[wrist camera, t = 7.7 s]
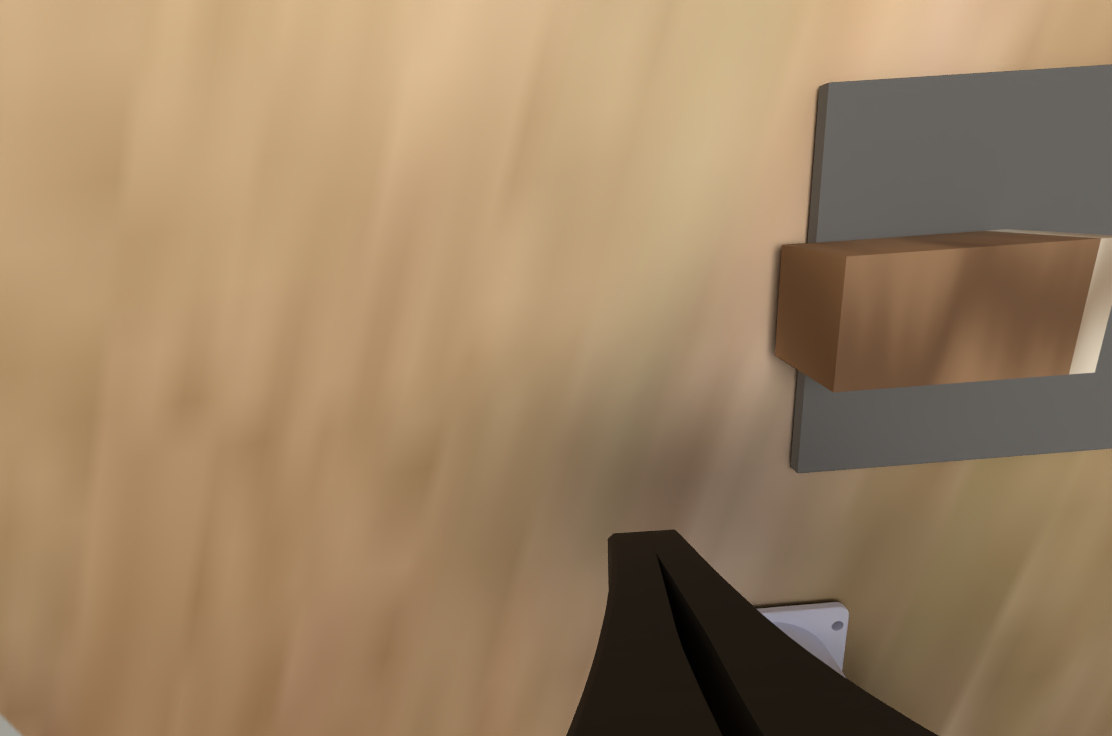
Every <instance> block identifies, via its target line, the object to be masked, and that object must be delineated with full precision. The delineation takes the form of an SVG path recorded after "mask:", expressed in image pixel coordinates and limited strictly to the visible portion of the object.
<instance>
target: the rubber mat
mask: <svg viewBox="0 0 1112 736" xmlns="http://www.w3.org/2000/svg"><path fill="white" fill-rule="evenodd" d="M1002 229H1013V230H1030V231H1047V232H1063V233H1080V234H1096V235H1112V65H1098V66H1082V67H1066V68H1051V69H1035V70H1019V71H1004V72H988V73H972V74H957V75H941V76H925V77H910V78H894V79H878V80H863V81H847V82H831V83H827V84H824V85H822V86H819V98H818V111H817V124H816V138H815V151H814V164H813V177H812V190H811V203H810V217H809V230H808V243H817V242H832V241H846V240H860V239H874V238H889V237H903V236H917V235H931V234H945V233H960V232H974V231H988V230H1002ZM1110 448H1112V306H1111V310H1110V314H1109V318H1108V322H1107V326H1106V330H1105V334H1104V338H1103V342H1102V346H1101V350H1100V354H1099V358H1098V362H1097V366H1096V370H1095V373H1082V374H1068V375H1055V376H1042V377H1029V378H1016V379H1003V380H990V381H977V382H964V383H951V384H938V385H924V386H911V387H898V388H885V389H872V390H859V391H846V392H832V391H830V390H829V389H827V388H825V387H824V386H822V385H821V384H819V383H818V382H816V381H814V380H813V379H811V378H810V377H808V376H807V375H805V374H803V373H802V372H800V371H799V370H798V375H797V388H796V401H795V414H794V427H793V440H792V454H791V467H792V468H793V469H794V470H795V471H796V472H797V473H808V472H821V471H834V470H846V469H859V468H871V467H884V466H896V465H909V464H922V463H934V462H947V461H959V460H972V459H985V458H997V457H1010V456H1022V455H1035V454H1048V453H1060V452H1073V451H1085V450H1098V449H1110Z"/></svg>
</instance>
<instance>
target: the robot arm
mask: <svg viewBox="0 0 1112 736" xmlns="http://www.w3.org/2000/svg"><path fill="white" fill-rule="evenodd" d="M608 575H609V592H608V599H607V606H606V611H605V616H604V620H603V625H602V629H601V633H600V638H599V642H598V646H597V650H596V653H595V657H594V660H593V664H592V667H591V670H590V673H589V676H588V679H587V682H586V685H585V688H584V691H583V694H582V697H581V699H580V702H579V705H578V707H577V710H576V713H575V715H574V718H573V720H572V723H571V726H570V728H569V730H568V733H567V735H566V736H938V735H936V734H935V733H933V732H931V731H929V730H928V729H926V728H924V727H922V726H921V725H919V724H917V723H916V722H914V721H912V720H911V719H909V718H907V717H906V716H904V715H903V714H901V713H899V712H898V711H896V710H895V709H893V708H891V707H890V706H888V705H887V704H885V703H883V702H882V701H880V700H879V699H877V698H875V697H874V696H872V695H871V694H869V693H867V692H866V691H864V690H863V689H861V688H860V687H858V686H857V685H855V684H854V683H852V682H851V681H849V680H848V679H847V678H846V677H845V675H844V674H843V672H842V668H843V660H844V652H845V644H846V636H847V628H848V620H849V611H848V610H847V609H846V607H845V606H844V605H843V604H842V603H840V602H830V603H818V604H806V605H795V606H783V607H771V608H759V609H756V608H755V607H754V606H753V605H751V604H750V603H749V602H748V601H747V600H746V599H745V598H744V597H743V596H742V595H741V594H740V593H738V592H737V591H736V590H735V589H734V588H733V587H732V586H731V585H730V584H729V583H728V582H727V581H726V580H725V579H724V578H723V577H721V576H720V575H719V574H718V573H717V572H716V571H715V570H714V569H713V568H712V567H711V566H710V565H709V564H708V563H707V562H706V561H705V560H704V559H703V558H702V557H701V556H700V555H699V554H698V552H697V551H696V550H695V549H694V548H693V547H692V546H691V545H690V544H689V543H688V542H687V541H686V540H685V539H684V538H683V537H682V536H681V535H680V534H679V533H678V532H677V531H676V530H661V531H646V532H630V533H615V534H613V535H612V536H610V537H609V538H608ZM834 622H836V623H834ZM833 623H834V624H833Z"/></svg>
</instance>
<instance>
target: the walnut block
mask: <svg viewBox="0 0 1112 736" xmlns="http://www.w3.org/2000/svg"><path fill="white" fill-rule="evenodd" d="M1111 306H1112V235H1096V234H1080V233H1063V232H1047V231H1030V230H1013V229H1002V230H988V231H974V232H960V233H945V234H931V235H917V236H903V237H889V238H874V239H860V240H846V241H832V242H817V243H803V244H789V245H782V251H781V267H780V283H779V300H778V316H777V332H776V348H775V356H777V357H778V358H780V359H782V360H783V361H785V362H786V363H788V364H789V365H791V366H792V367H794V368H796V369H797V370H799V371H800V372H802V373H803V374H805V375H807V376H808V377H810V378H811V379H813V380H814V381H816V382H818V383H819V384H821V385H822V386H824V387H825V388H827V389H829V390H830V391H832V392H846V391H859V390H872V389H885V388H898V387H911V386H924V385H938V384H951V383H964V382H977V381H990V380H1003V379H1016V378H1029V377H1042V376H1055V375H1068V374H1082V373H1095V370H1096V366H1097V362H1098V358H1099V354H1100V350H1101V346H1102V342H1103V338H1104V334H1105V330H1106V326H1107V322H1108V318H1109V314H1110V310H1111Z"/></svg>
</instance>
